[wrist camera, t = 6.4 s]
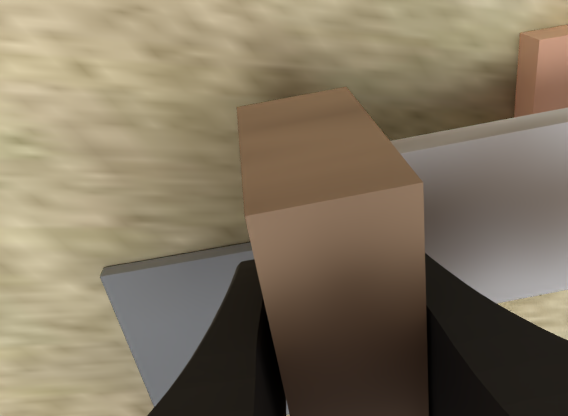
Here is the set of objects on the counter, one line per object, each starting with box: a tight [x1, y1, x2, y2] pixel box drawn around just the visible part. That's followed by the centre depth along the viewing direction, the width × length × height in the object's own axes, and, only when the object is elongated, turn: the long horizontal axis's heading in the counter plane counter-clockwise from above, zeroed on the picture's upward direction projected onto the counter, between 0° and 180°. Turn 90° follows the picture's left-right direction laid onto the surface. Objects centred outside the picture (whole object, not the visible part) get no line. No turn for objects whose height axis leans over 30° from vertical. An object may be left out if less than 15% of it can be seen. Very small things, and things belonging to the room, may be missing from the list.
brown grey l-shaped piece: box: [237, 87, 568, 416], centre depth 11 cm, size 8×12×5 cm, turn 99°
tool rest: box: [100, 242, 289, 415], centre depth 22 cm, size 10×14×1 cm
